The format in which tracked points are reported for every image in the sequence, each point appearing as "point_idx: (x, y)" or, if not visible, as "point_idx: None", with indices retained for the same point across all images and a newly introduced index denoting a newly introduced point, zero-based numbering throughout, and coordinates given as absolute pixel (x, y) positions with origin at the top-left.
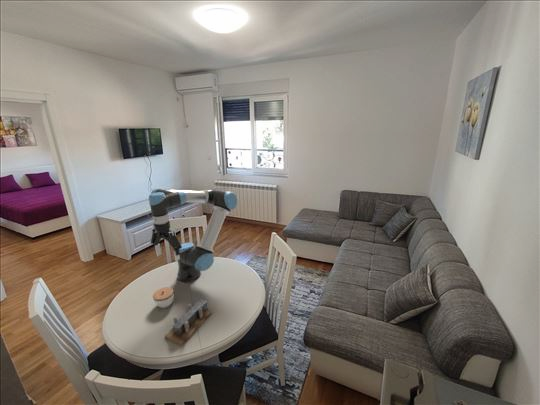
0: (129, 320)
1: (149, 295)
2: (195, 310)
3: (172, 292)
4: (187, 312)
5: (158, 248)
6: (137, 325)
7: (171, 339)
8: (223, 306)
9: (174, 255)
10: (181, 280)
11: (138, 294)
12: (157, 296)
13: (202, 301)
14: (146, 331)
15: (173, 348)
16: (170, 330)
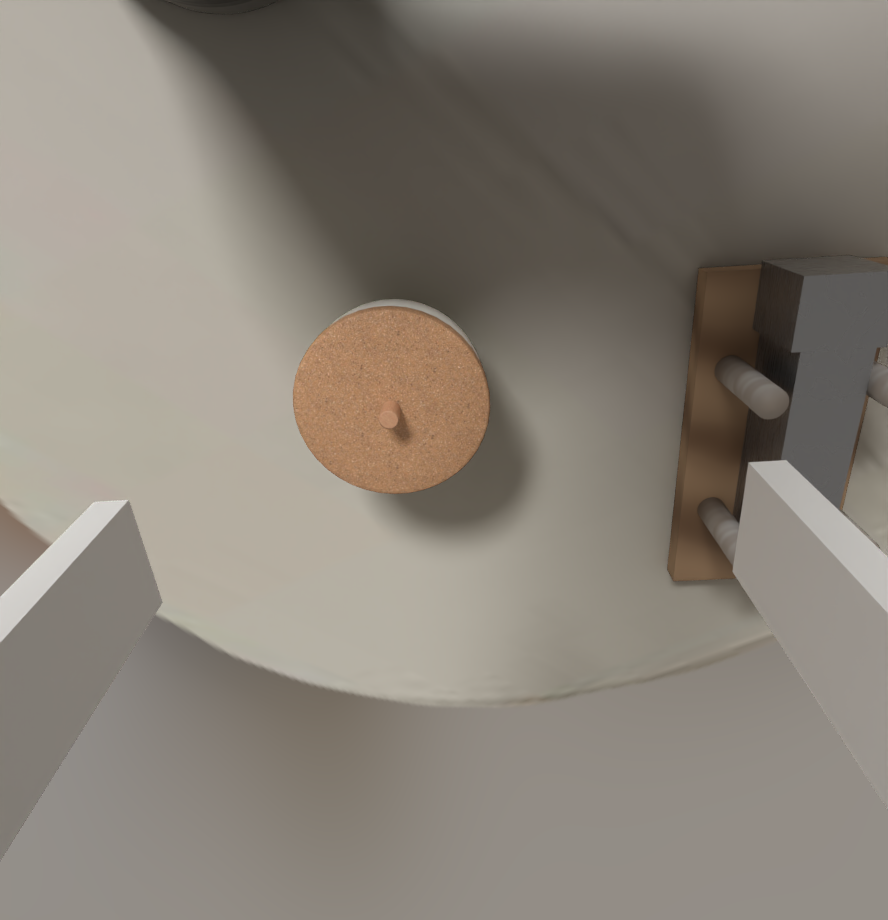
0: (315, 580)
1: (164, 354)
2: (848, 412)
3: (473, 359)
4: (789, 459)
5: (34, 704)
6: (407, 582)
7: (732, 574)
8: None
9: (817, 686)
10: (234, 9)
11: (66, 390)
12: (389, 468)
13: (854, 291)
14: (508, 585)
15: None
16: (681, 541)
